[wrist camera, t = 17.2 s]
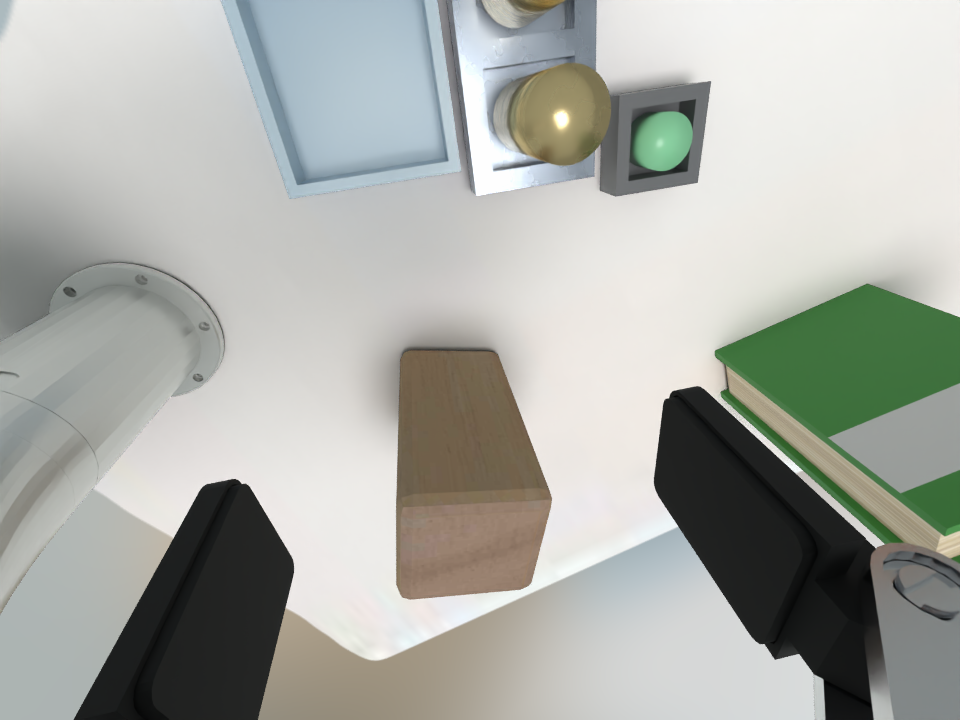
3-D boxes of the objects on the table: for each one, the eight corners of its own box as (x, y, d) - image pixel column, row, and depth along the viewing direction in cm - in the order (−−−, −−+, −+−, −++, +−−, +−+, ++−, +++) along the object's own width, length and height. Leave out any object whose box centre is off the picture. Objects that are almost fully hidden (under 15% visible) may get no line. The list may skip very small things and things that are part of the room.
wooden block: (488, 424, 48) (533, 594, 31) (400, 425, 46) (396, 607, 29) (499, 347, 43) (559, 499, 26) (400, 346, 41) (395, 508, 24)
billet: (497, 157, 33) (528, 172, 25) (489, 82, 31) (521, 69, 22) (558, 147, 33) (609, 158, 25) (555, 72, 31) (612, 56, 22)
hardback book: (721, 397, 51) (929, 584, 31) (714, 351, 48) (947, 528, 27) (862, 336, 50) (1180, 490, 29) (867, 283, 46) (1235, 418, 26)
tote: (300, 191, 33) (289, 198, 30) (231, -18, 27) (208, -34, 24) (456, 166, 34) (461, 171, 31) (426, -42, 27) (428, -62, 24)
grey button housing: (600, 190, 37) (615, 196, 34) (601, 96, 33) (619, 95, 30) (676, 177, 37) (697, 182, 34) (686, 84, 33) (710, 81, 31)
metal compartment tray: (580, 172, 36) (594, 176, 33) (471, 189, 35) (476, 195, 32) (580, -125, 27) (598, -151, 24) (432, -108, 26) (435, -132, 23)
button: (622, 170, 35) (639, 175, 32) (625, 115, 33) (643, 115, 30) (668, 163, 35) (688, 166, 33) (673, 108, 33) (696, 107, 31)
